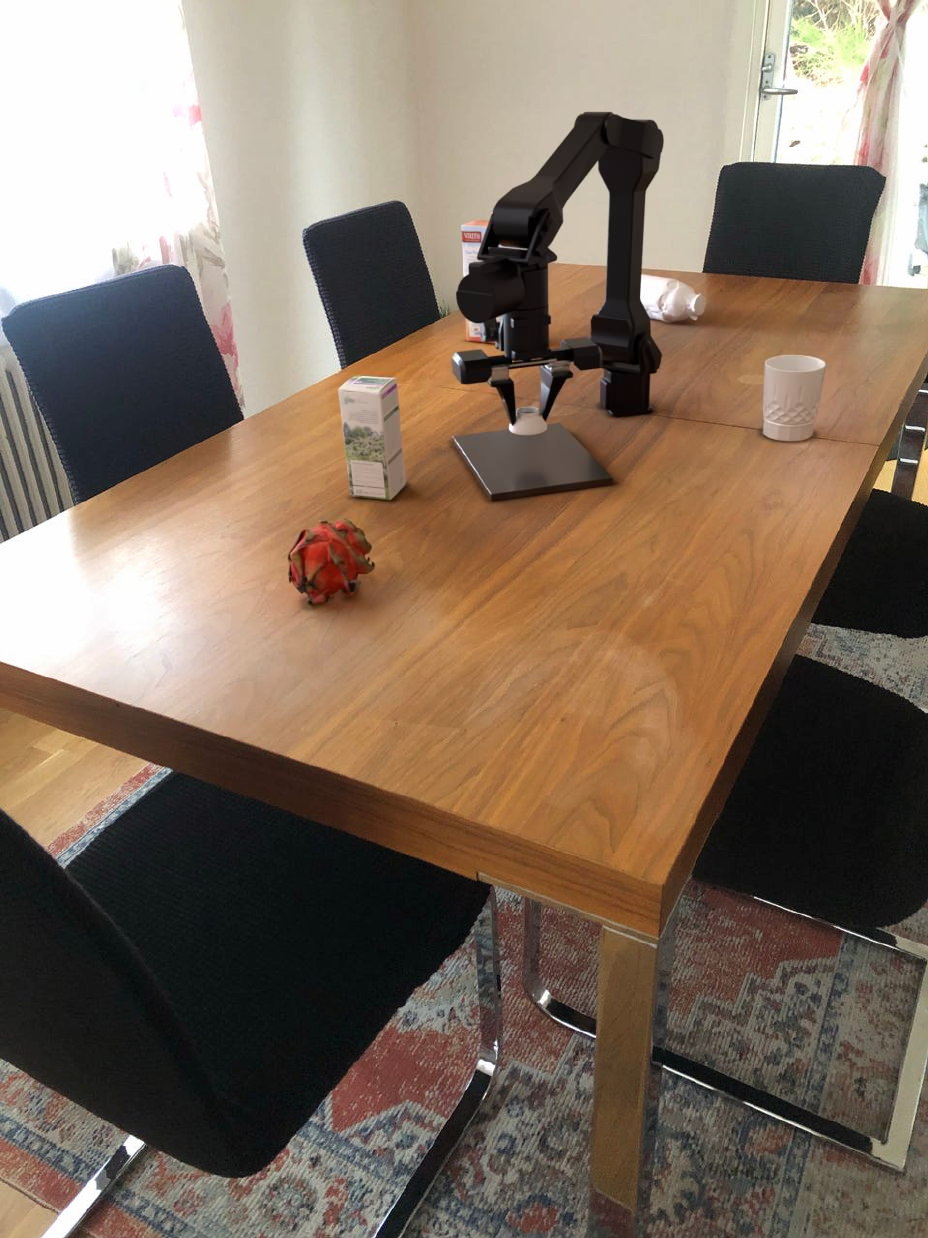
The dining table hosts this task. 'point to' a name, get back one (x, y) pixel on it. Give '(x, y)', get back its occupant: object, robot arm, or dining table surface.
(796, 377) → the white cup
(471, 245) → the cracker box
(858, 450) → the dining table surface
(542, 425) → the lidless jar
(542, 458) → the serving board
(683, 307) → the white bottle
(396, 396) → the syrup box
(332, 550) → the dragon fruit
